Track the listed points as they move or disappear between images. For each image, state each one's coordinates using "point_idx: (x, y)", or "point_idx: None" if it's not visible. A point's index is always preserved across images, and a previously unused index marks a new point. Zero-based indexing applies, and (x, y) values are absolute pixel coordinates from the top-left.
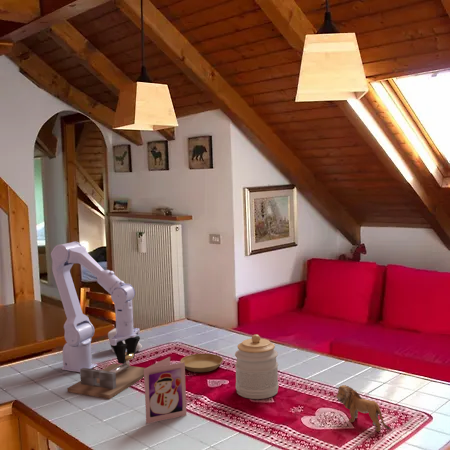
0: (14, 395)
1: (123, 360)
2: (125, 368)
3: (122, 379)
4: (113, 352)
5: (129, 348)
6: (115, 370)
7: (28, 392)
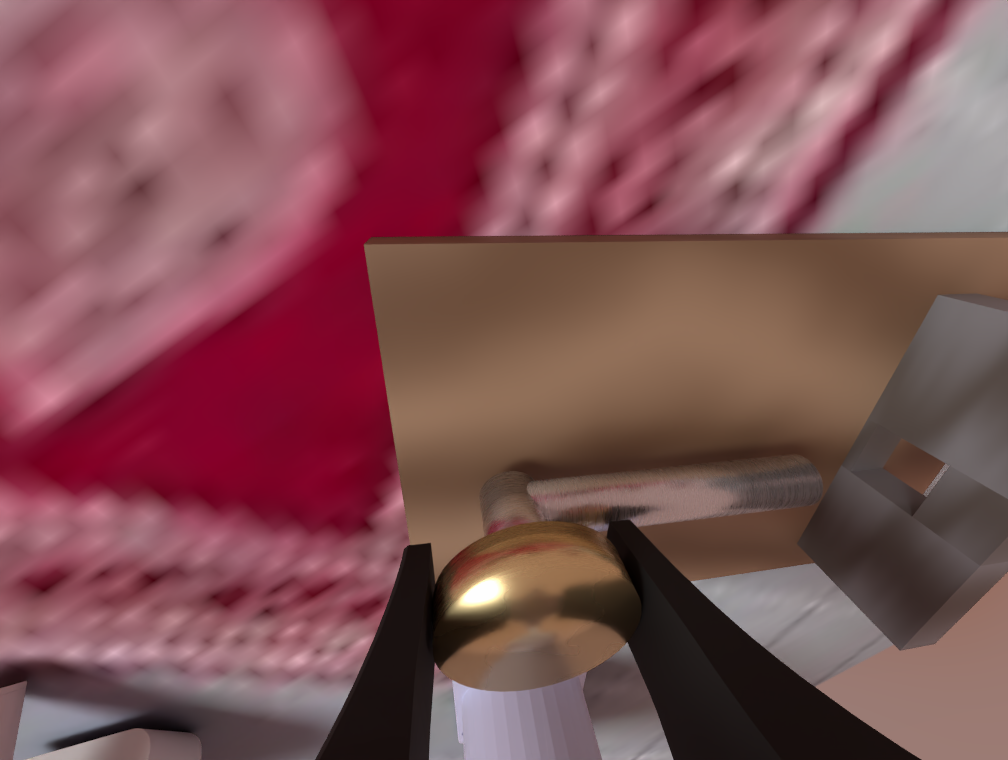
0: (867, 643)
1: (655, 548)
2: (559, 478)
3: (745, 363)
4: (198, 739)
5: (424, 724)
6: (730, 487)
7: (842, 633)
